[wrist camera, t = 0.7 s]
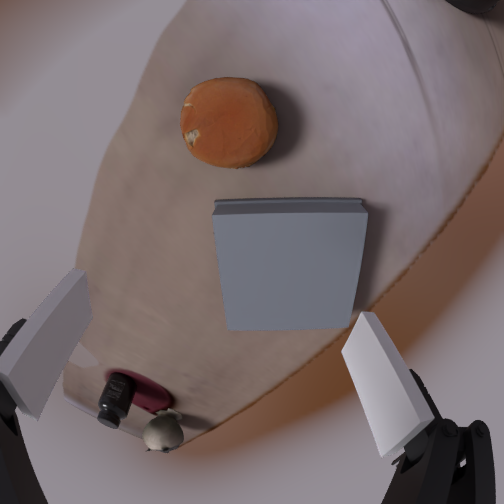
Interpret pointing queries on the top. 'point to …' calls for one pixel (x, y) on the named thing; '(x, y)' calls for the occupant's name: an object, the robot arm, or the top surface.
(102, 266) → the top surface
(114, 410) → the supplement bottle
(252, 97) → the burger
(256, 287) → the stacking base
